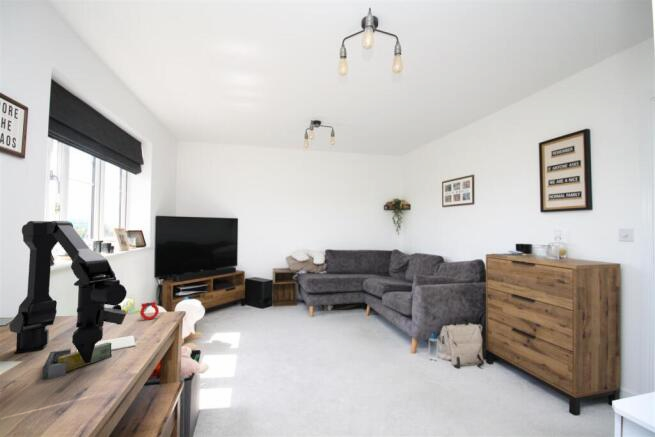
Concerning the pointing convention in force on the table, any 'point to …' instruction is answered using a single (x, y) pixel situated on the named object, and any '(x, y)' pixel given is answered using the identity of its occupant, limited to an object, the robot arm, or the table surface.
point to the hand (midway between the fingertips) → (88, 356)
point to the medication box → (76, 360)
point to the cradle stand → (55, 369)
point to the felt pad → (119, 342)
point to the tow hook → (144, 308)
